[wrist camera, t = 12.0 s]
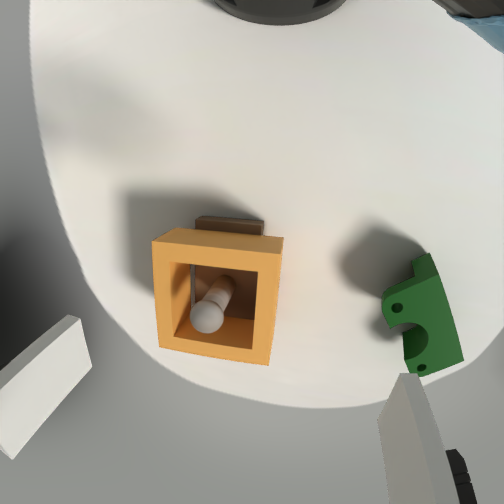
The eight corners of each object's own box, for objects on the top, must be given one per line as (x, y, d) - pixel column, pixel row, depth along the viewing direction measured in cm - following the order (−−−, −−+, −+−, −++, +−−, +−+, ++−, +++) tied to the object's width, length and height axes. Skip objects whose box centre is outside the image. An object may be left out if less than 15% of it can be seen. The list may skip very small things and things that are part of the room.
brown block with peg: (202, 215, 29) (160, 240, 20) (263, 221, 28) (247, 249, 19) (201, 338, 33) (172, 393, 24) (254, 346, 32) (238, 407, 23)
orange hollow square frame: (175, 227, 28) (151, 241, 23) (283, 237, 26) (280, 254, 22) (178, 321, 31) (159, 347, 26) (273, 335, 29) (268, 365, 25)
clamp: (382, 271, 32) (369, 282, 25) (428, 250, 29) (431, 254, 22) (414, 363, 30) (409, 399, 22) (459, 346, 27) (468, 378, 20)
